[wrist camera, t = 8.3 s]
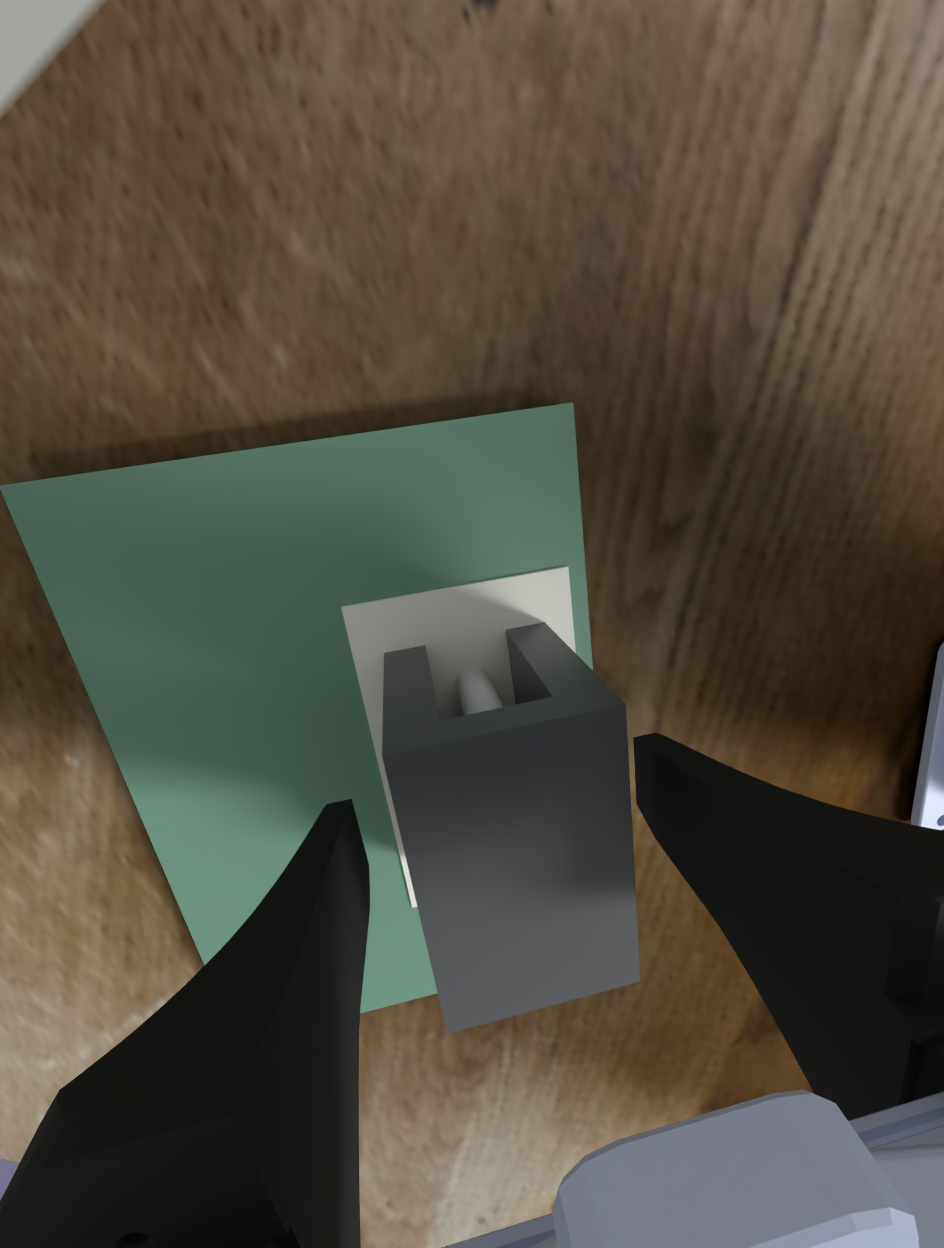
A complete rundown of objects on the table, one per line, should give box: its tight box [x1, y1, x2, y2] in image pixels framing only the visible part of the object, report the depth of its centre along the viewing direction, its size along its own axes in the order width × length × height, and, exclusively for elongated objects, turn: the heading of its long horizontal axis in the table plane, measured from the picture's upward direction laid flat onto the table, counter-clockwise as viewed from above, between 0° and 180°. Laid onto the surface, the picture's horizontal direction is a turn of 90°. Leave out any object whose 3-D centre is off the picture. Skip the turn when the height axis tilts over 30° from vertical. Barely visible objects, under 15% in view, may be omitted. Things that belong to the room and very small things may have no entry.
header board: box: [0, 402, 593, 1013], centre depth 14 cm, size 13×18×4 cm
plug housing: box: [382, 622, 640, 1034], centre depth 12 cm, size 4×7×5 cm, turn 8°
